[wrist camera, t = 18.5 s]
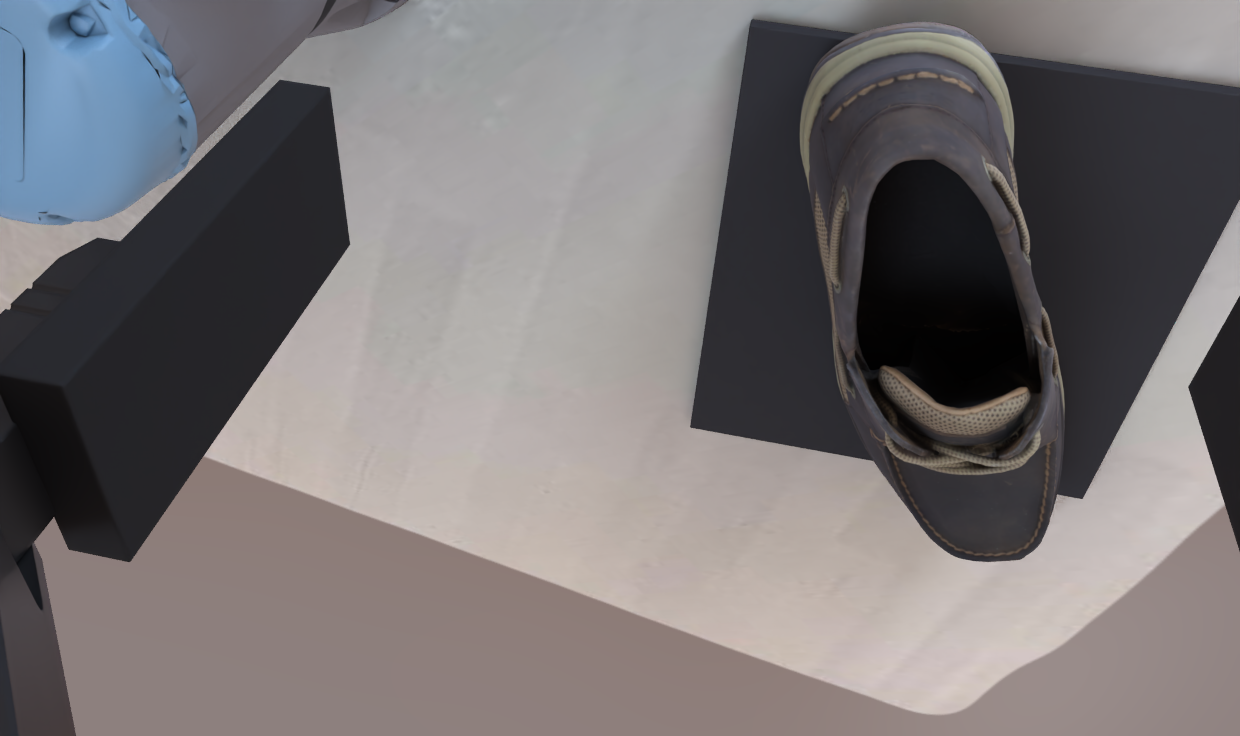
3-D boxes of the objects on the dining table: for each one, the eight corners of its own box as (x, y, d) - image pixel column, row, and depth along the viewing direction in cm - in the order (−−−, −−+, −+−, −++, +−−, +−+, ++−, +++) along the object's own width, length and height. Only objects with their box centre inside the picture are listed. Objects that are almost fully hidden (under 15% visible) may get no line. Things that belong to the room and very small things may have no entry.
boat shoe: (890, 509, 62) (890, 664, 54) (724, 56, 46) (688, 181, 38) (1091, 483, 58) (1122, 648, 50) (984, -26, 42) (1005, 96, 34)
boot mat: (692, 418, 62) (689, 427, 61) (751, 18, 46) (749, 26, 45) (1080, 488, 59) (1082, 499, 59) (1285, 93, 43) (1290, 102, 43)
